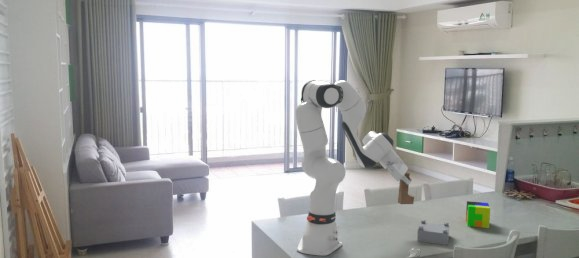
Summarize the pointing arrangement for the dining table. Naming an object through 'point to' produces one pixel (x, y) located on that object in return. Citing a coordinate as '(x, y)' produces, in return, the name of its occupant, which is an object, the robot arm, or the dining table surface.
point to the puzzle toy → (478, 214)
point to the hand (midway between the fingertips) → (410, 182)
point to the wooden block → (405, 192)
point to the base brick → (433, 232)
